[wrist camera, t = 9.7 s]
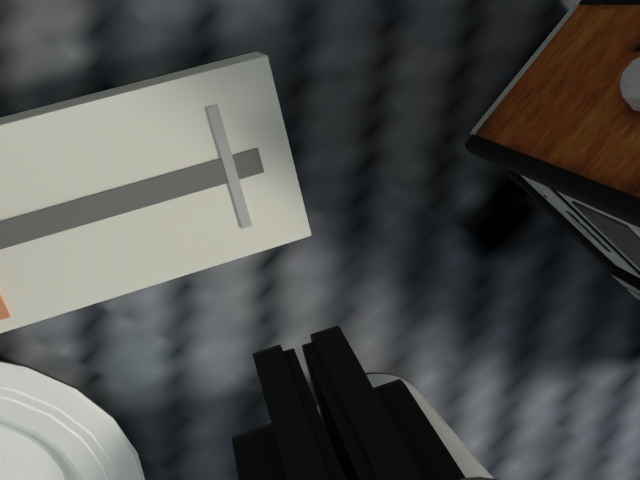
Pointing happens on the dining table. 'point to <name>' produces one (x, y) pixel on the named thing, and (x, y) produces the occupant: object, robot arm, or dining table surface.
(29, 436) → the plate
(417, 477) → the robot arm
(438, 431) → the candle holder
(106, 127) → the fader console
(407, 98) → the dining table surface
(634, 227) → the radio cassette player
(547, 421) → the dining table surface
